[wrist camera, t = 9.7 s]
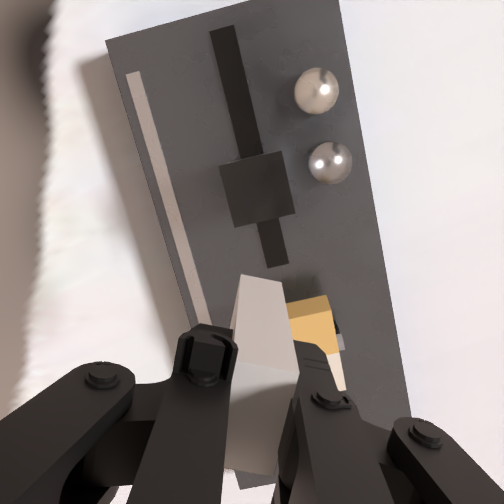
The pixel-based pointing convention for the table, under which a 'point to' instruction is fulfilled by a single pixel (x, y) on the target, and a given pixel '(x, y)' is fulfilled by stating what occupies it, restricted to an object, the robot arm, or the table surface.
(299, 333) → the rocker
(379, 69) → the table surface
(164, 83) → the console
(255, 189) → the slider
